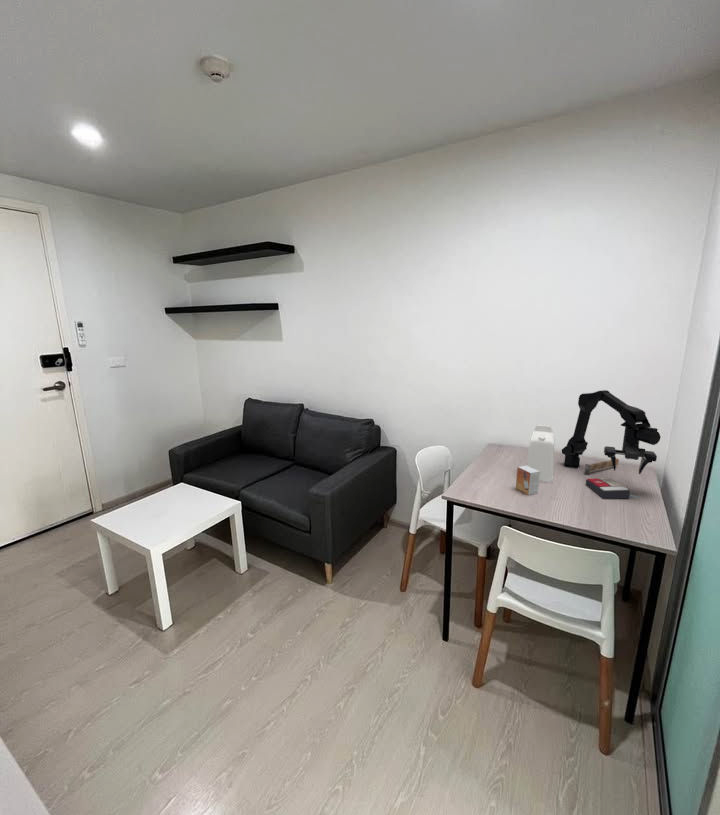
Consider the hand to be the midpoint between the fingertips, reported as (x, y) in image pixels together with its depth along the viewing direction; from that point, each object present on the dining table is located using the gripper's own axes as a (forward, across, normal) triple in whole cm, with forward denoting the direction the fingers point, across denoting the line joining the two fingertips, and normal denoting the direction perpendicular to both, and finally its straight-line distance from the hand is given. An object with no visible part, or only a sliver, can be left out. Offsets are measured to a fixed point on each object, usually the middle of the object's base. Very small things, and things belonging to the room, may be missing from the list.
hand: (626, 472), depth 176 cm
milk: (+9, -35, +2) cm, 36 cm away
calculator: (+7, -10, +2) cm, 13 cm away
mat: (+9, 0, 0) cm, 9 cm away
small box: (+9, -39, -18) cm, 44 cm away
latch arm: (+9, -14, +14) cm, 21 cm away
